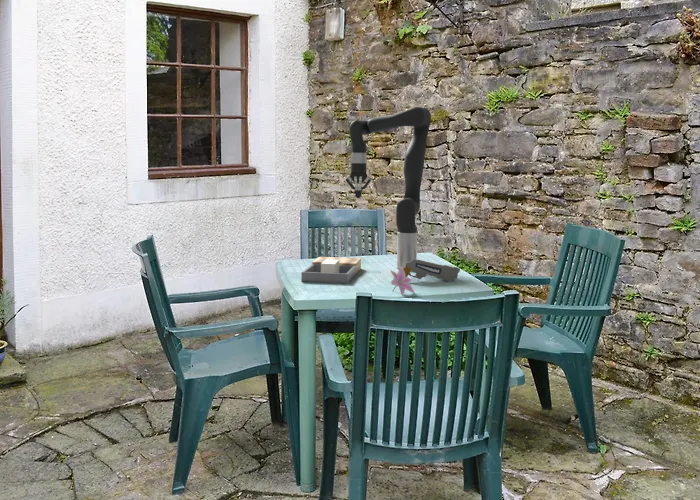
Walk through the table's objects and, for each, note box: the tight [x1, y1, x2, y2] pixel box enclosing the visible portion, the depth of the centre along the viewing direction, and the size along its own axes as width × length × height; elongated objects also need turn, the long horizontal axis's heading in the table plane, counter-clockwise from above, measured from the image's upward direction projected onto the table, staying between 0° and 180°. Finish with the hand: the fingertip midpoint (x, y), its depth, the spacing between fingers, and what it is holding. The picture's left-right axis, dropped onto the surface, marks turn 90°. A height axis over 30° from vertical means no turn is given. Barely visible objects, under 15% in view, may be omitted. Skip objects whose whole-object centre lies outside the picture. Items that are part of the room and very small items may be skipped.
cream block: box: [321, 259, 339, 273], centre depth 330 cm, size 6×6×12 cm
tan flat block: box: [311, 256, 362, 275], centre depth 346 cm, size 20×16×5 cm
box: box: [300, 263, 357, 284], centre depth 327 cm, size 20×22×4 cm
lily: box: [389, 266, 415, 296], centre depth 297 cm, size 12×12×10 cm
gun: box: [403, 258, 461, 282], centre depth 323 cm, size 3×25×15 cm, turn 100°
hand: (358, 198), depth 365 cm, fingers closed
